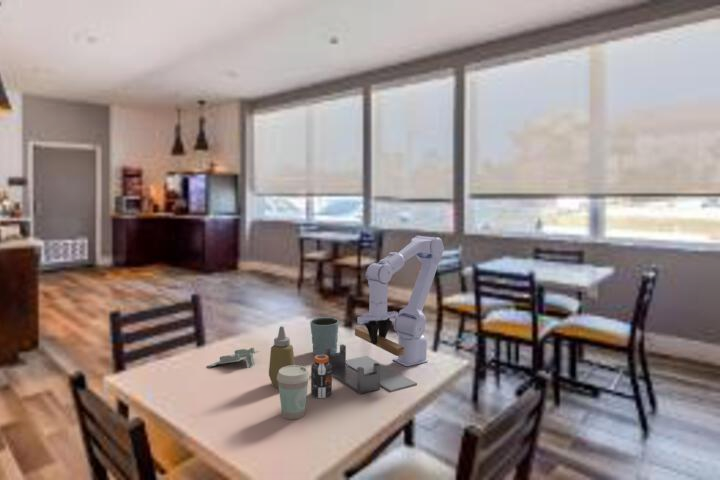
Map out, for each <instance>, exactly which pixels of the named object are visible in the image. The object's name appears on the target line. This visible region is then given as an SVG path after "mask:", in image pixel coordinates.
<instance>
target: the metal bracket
mask: <svg viewBox="0 0 720 480" xmlns="http://www.w3.org/2000/svg"><path fill="white" fill-rule="evenodd" d="M259 352H260V350H256V351H255V348H254V347H250V348H249V349H247V348H242V349H235V350H234V354H231V355H229V354H227V355H222V356H220V357H219V360H218V361H215V362H213V363H211V364H208V365H206V368H211V367H215V366H217V365H223V364H228V363H237V362H240V361H242V360H244V359H245V363H246V367H247V369H249V368H251V367H253V366H255V365H256V363H255V359H254V356H253V355H255V354H257V353H259Z"/></svg>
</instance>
